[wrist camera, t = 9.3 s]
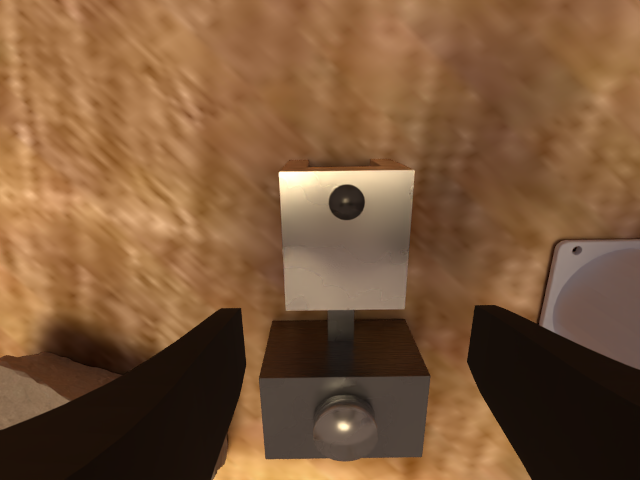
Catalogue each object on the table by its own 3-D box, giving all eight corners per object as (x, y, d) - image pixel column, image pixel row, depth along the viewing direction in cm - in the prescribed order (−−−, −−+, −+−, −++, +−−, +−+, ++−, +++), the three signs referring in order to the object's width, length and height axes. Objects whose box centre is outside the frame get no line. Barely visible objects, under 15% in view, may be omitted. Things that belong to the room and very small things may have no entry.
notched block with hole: (389, 158, 18) (416, 170, 13) (384, 265, 20) (405, 311, 15) (289, 160, 18) (278, 172, 13) (293, 266, 20) (285, 312, 15)
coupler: (415, 168, 18) (460, 187, 12) (400, 387, 22) (427, 475, 17) (262, 170, 18) (237, 190, 12) (276, 388, 22) (262, 477, 17)
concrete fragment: (211, 467, 25) (178, 571, 19) (18, 380, 22) (-86, 469, 17) (260, 401, 23) (240, 494, 17) (55, 299, 21) (-47, 367, 15)
